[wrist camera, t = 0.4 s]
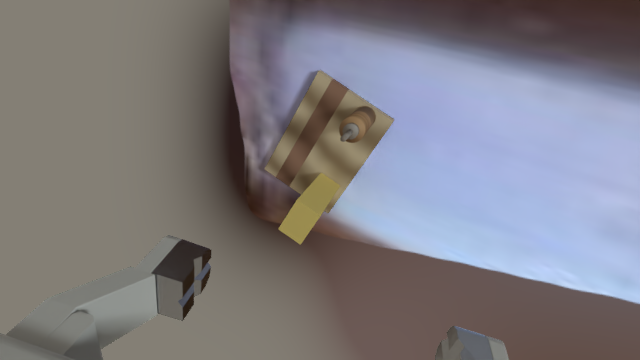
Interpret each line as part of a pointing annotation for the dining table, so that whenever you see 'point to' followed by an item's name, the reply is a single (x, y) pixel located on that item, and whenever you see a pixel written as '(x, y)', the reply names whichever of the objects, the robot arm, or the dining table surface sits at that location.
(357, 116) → the awl
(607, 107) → the dining table surface
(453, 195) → the dining table surface
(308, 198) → the block
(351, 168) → the plywood panel
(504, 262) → the dining table surface
